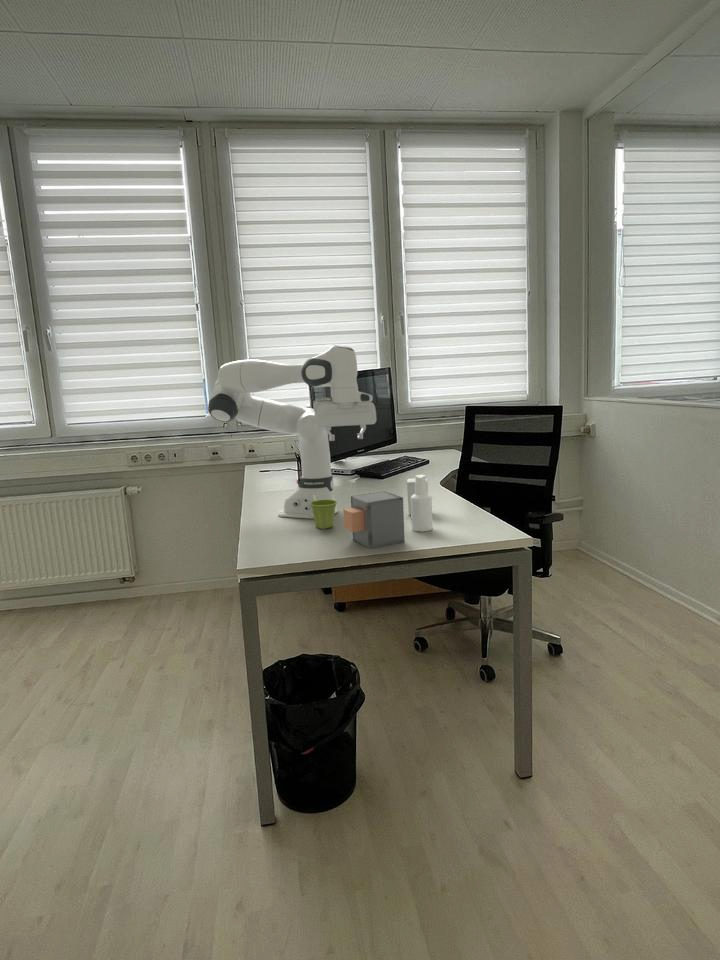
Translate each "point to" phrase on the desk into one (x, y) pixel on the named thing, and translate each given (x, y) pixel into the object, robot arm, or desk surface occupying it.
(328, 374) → the robot arm
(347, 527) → the button
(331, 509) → the plant pot
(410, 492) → the supplement box
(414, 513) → the spray bottle
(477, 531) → the desk surface
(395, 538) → the button box
